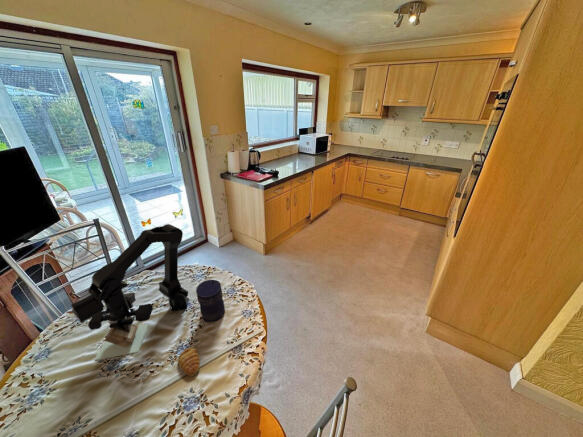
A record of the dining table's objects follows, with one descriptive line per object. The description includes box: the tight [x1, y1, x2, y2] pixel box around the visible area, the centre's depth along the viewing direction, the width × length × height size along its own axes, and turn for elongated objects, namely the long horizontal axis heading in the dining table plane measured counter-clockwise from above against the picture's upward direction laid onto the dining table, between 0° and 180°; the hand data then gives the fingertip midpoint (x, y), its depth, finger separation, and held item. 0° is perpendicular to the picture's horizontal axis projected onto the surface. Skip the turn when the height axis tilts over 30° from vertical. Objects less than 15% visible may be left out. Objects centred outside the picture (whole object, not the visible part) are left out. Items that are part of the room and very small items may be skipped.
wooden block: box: [103, 323, 139, 348], centre depth 88 cm, size 4×7×8 cm
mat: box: [94, 323, 149, 361], centre depth 89 cm, size 14×12×1 cm
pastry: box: [177, 346, 201, 377], centre depth 81 cm, size 9×7×4 cm
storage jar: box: [195, 279, 226, 324], centre depth 98 cm, size 10×10×15 cm
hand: (129, 331), depth 88 cm, fingers closed
